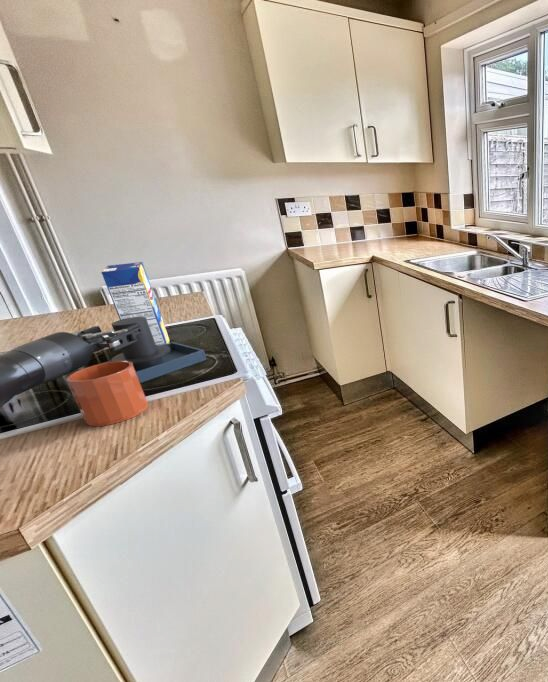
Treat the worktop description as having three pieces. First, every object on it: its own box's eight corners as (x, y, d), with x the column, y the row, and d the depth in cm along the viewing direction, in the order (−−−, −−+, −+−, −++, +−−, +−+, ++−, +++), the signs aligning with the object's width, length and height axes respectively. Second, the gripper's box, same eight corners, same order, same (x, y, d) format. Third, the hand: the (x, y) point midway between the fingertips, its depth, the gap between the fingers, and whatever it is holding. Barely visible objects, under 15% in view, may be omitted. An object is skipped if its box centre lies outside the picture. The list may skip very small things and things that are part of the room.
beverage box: (134, 358, 106) (101, 272, 98) (138, 345, 115) (107, 265, 107) (168, 351, 110) (138, 267, 102) (169, 340, 118) (142, 261, 110)
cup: (99, 430, 75) (79, 385, 71) (77, 419, 78) (57, 376, 75) (158, 407, 82) (142, 365, 79) (134, 398, 86) (118, 357, 83)
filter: (130, 381, 92) (110, 331, 88) (108, 372, 97) (88, 325, 93) (183, 362, 101) (168, 316, 97) (160, 355, 106) (144, 311, 101)
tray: (110, 393, 88) (106, 382, 87) (80, 381, 94) (76, 370, 93) (207, 359, 104) (204, 349, 103) (175, 351, 110) (172, 341, 109)
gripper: (79, 338, 76) (147, 311, 91) (-3, 341, 76) (78, 314, 91) (95, 375, 79) (158, 343, 94) (16, 379, 78) (92, 346, 94)
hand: (119, 329), depth 92 cm, fingers open, 8 cm apart
